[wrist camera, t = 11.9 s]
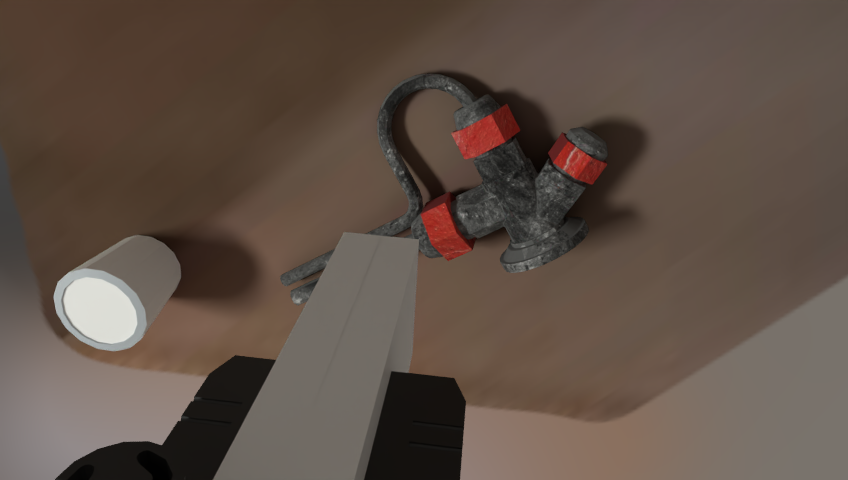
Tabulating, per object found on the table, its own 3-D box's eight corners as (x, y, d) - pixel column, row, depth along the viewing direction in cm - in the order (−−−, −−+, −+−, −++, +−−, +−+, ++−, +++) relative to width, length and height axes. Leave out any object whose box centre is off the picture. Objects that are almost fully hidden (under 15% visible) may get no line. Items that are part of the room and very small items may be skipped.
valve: (543, 4, 43) (636, 202, 46) (244, 172, 52) (337, 329, 54) (537, 2, 37) (644, 230, 40) (201, 192, 46) (308, 368, 48)
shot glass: (95, 230, 51) (38, 271, 45) (176, 225, 50) (129, 267, 44) (121, 304, 54) (71, 353, 48) (198, 301, 53) (157, 351, 47)
